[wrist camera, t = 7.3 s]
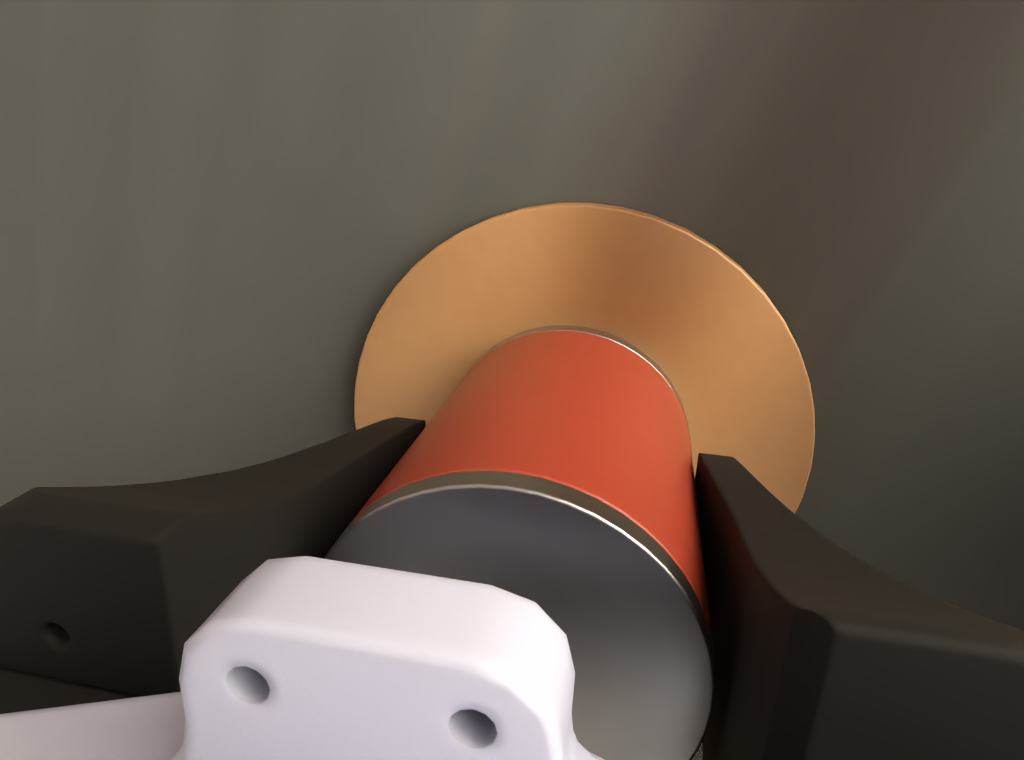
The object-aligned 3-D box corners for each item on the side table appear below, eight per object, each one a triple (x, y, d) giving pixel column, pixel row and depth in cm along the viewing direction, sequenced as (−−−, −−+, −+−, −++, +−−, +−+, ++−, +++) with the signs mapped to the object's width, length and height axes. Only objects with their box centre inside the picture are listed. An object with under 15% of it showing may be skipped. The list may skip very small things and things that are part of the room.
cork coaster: (856, 218, 13) (863, 221, 13) (767, 648, 16) (770, 663, 16) (353, 187, 15) (343, 189, 14) (368, 583, 18) (361, 595, 18)
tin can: (705, 336, 14) (749, 519, 7) (674, 559, 16) (686, 864, 9) (453, 314, 15) (291, 458, 8) (450, 526, 16) (316, 783, 10)
